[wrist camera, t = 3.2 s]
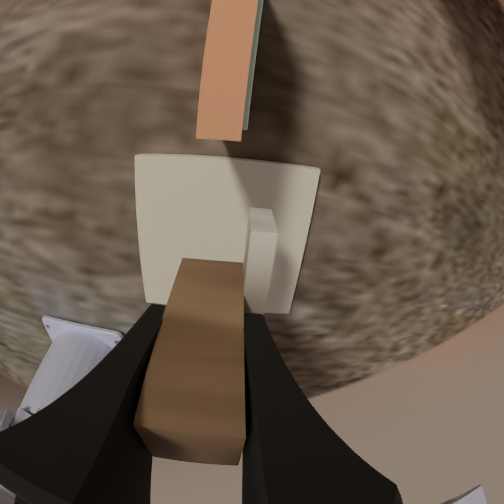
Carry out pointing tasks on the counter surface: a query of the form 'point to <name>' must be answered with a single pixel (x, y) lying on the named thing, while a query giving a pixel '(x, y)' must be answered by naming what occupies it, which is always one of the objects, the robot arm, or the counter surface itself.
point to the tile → (228, 69)
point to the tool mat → (219, 216)
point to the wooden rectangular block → (206, 354)
